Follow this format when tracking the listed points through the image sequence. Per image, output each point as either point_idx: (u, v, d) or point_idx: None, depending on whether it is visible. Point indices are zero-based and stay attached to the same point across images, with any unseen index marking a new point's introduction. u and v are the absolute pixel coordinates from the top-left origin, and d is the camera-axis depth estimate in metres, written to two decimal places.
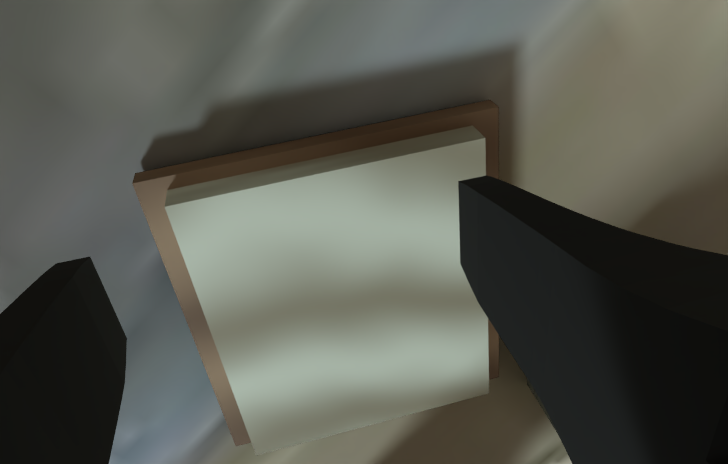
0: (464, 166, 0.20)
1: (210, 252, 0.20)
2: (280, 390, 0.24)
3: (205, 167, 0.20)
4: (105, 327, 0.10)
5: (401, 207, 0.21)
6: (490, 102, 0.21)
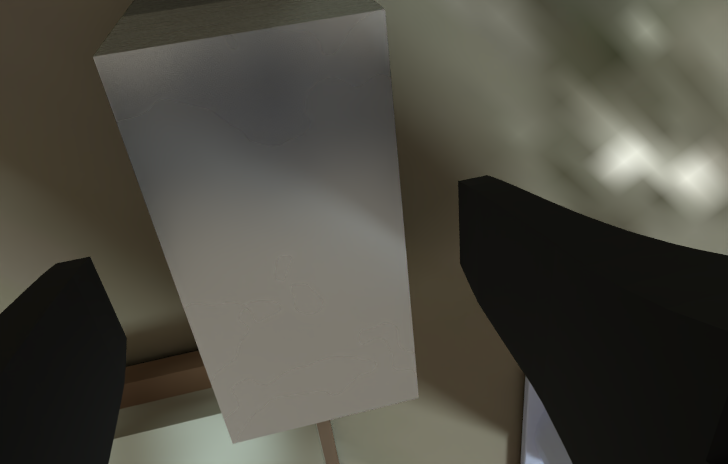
0: None
1: None
2: None
3: None
4: (105, 327, 0.10)
5: None
6: None
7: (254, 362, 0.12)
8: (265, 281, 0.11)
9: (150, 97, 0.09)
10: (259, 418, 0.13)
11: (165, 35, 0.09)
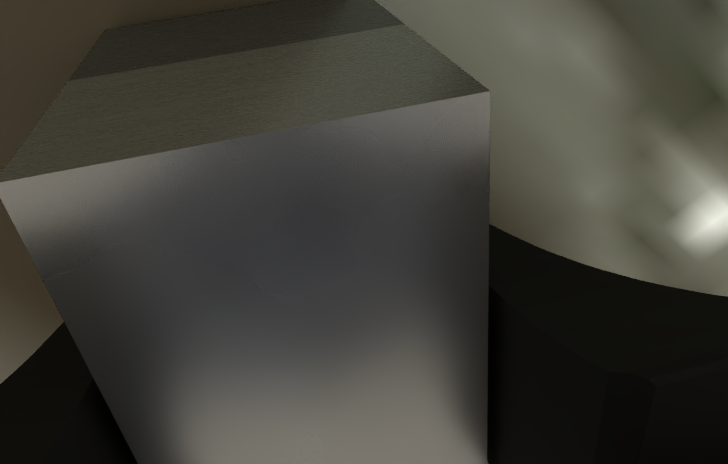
0: None
1: None
2: None
3: None
4: None
5: None
6: None
7: None
8: None
9: (99, 241, 0.05)
10: None
11: (124, 132, 0.06)
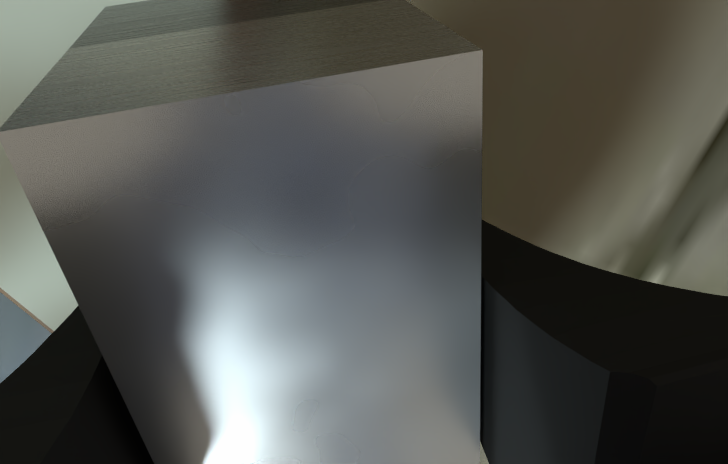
0: None
1: None
2: None
3: None
4: None
5: None
6: None
7: None
8: (278, 433, 0.08)
9: (99, 193, 0.06)
10: None
11: (125, 89, 0.06)
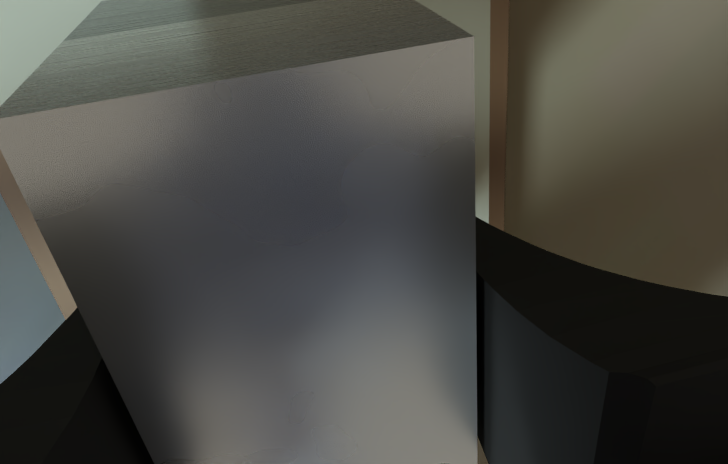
0: None
1: None
2: None
3: None
4: None
5: None
6: None
7: None
8: (275, 425, 0.08)
9: (90, 181, 0.06)
10: None
11: (116, 78, 0.06)
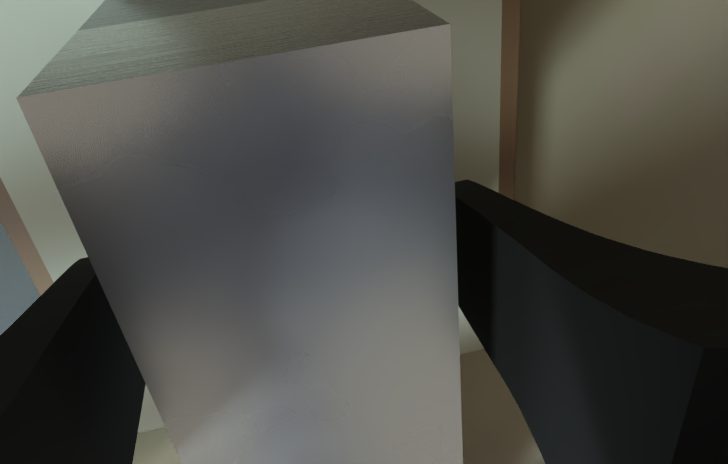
0: None
1: None
2: None
3: None
4: None
5: None
6: None
7: None
8: (272, 385, 0.08)
9: (107, 153, 0.06)
10: None
11: (129, 61, 0.06)
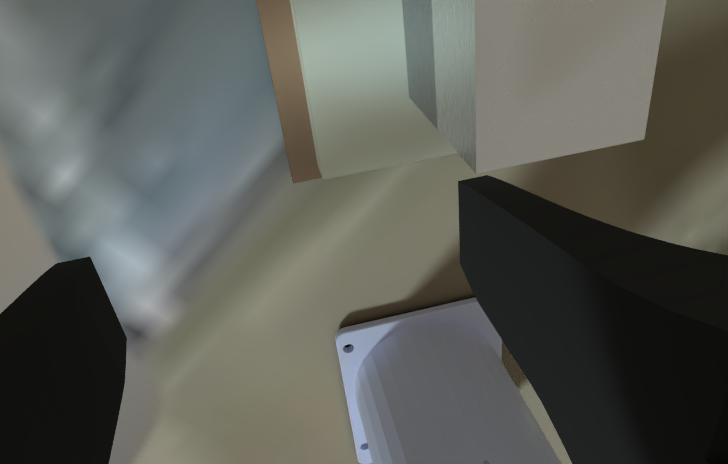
0: None
1: None
2: (362, 68, 0.18)
3: None
4: (105, 327, 0.10)
5: None
6: None
7: (516, 73, 0.13)
8: None
9: None
10: (506, 144, 0.14)
11: None
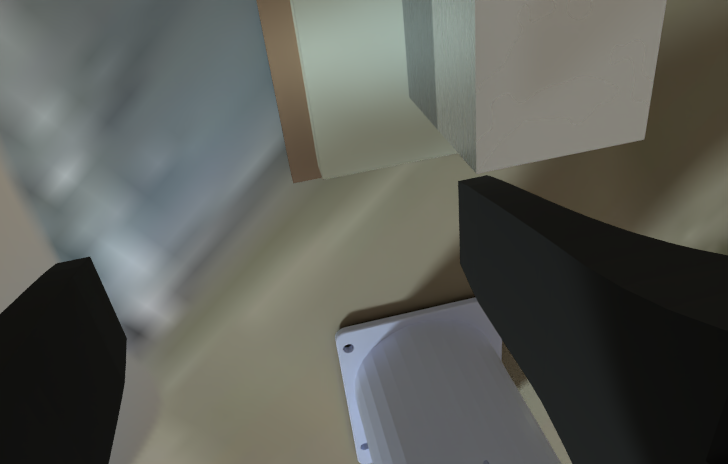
0: None
1: None
2: (363, 68, 0.18)
3: None
4: (105, 327, 0.10)
5: None
6: None
7: (517, 73, 0.13)
8: None
9: None
10: (506, 144, 0.14)
11: None
